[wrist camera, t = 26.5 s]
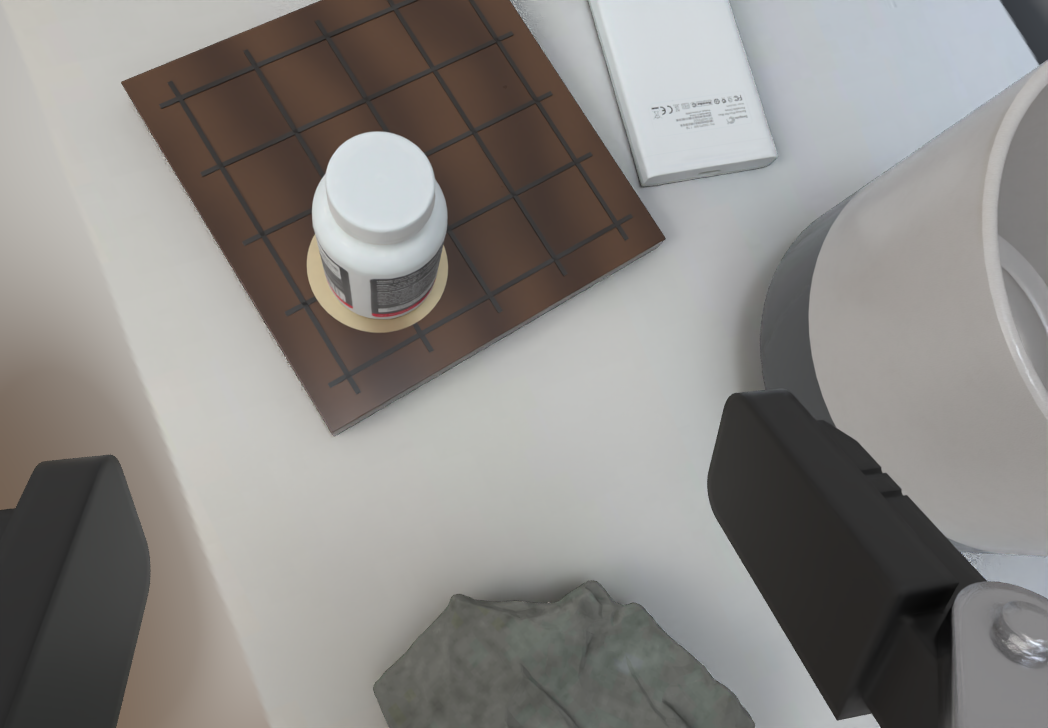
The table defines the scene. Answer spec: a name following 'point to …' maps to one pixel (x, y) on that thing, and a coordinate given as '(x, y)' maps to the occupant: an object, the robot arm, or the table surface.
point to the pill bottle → (380, 225)
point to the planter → (935, 323)
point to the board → (452, 149)
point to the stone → (552, 670)
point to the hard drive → (683, 88)
